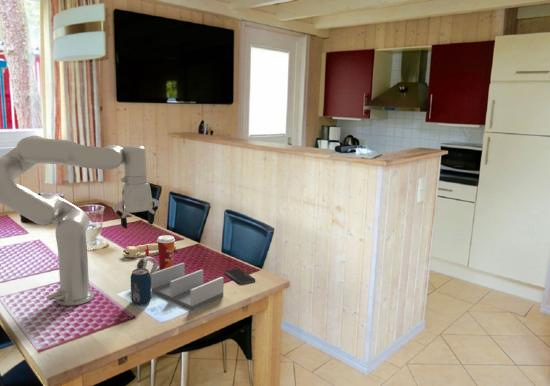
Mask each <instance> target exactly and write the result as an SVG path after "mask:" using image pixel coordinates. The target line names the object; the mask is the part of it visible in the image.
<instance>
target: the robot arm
mask: <svg viewBox="0 0 550 386" xmlns="http://www.w3.org/2000/svg"><path fill="white" fill-rule="evenodd" d="M37 164H47V165H48V164H50V165H62V166H71V167H77V168H84V169H85V168H86V169H94V170H95V169H96V170H114V169H117V168H119V167H120V166H121V165H123V168H124V170H123V171H124V176H123V177H121V178H120V182H121V183H123V185H122V191H121V200H120V201H119V202H116V203H115V204H113V205H112V209H113V211H114V212H115V214H116V215H118V216H119V217H120V226H121V227H122V228H123V229H124V230H126V229H128V221H127V220H128V219H127V217H126V216H127V215H128V214H129V213H130V214H132V213H139V212H140V213H141V212H146V211H147V223H148V224H150V225H151V226H152V225H153V224H154V222H155V215H154V214H155V213H156V212H157V210H158V209H159V206H160V204H161V201H160V200H158V199H156V198H154V197H153V196H152V190H151V189H152V188H151V186H150V183H149V182H148V181H147V180H148V179H147V152H146V148H145V147H144V146H142V145H126V146H125V145H117V144H109V145H107V146H105V147H104V146H103V147H102V146H91V145H85V144H80V143H77V142H75V141H73V140H70V139H69V140H68V139H55V138H45V137H42V136H39V135H29V136H26V137H24V138H22V139H20V140H19V141H18V142H17V144H16V147H14V148H12V149H11V150H9V152H7V153H6V154H4V155H2V156H0V204H2V205H3V206H5V207H8V208H9V209H11V210H13V211H14V212H16V213H17V214H19V215H20V216H22V217H24V218H26V219H28V220H30V221H32V222H33V223H35V224H37V225H39V226H49V225H51V224H52V223H53V224H55V225H56V227H55V239H56V240H55V241H56V246H57V255H58V256H57V257H58V270H59V271H58V273H59V288H57V291H55V293H51V294H48V295H46V299H47V301H48V302H50V301H54V302H56V303H57V304H58V305H62V306H67V307H68V306H69V307H70V306H71V307H72V306H79V305H83V304H87V303H88V302H90V301H92V300H93V299H94V298H95V297H94V296H95V293H94V292H95V291H93V290H91V289H90V282H89V281H90V279H89V259H88V245H87V231H88V227H89V225H90V217H89V216H88V214H87V213H86V212H85V211H84V210H82V209H81V208H80V207H77V206H76V205H74V204H73V203H71V202H69V201H68V200H66V199H64V198H63V197H60V196H59V195H56V194H53V193H43V194H38V193H36V192H34V191H32V190H31V189H29V188H28V187H26V186H24V185H21V184H19V183H17V182H16V181H15V179H17V178H18V177H21V176H22V175H23V174H24V173H26V172H27V171H29V169H31V168H33V167H34V166H35V165H37ZM153 204H154V205H153ZM120 207H121V208H122V210H121V211H120V210H119V208H120Z"/></svg>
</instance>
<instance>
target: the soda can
mask: <svg viewBox="0 0 550 386" xmlns="http://www.w3.org/2000/svg"><path fill="white" fill-rule="evenodd" d="M149 271H150V270H149V269H147V268H145V269H144V268H140V269H137V268H136V269H134V270H132V273H131V275H130V300H131V302H132V304H133V305H134V306H145V305H147V304H149V303H150V301H151V299H152V292H151V275H150V272H149Z"/></svg>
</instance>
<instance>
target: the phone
mask: <svg viewBox="0 0 550 386" xmlns="http://www.w3.org/2000/svg"><path fill="white" fill-rule="evenodd" d="M224 275H226V276H228V277H229V279H231V281H232V280H233V281H234V282H235V283H236V284H238V285H239V286H242V285H243V286H244V285H248V284H252V283H256V278H254V277H253V276H251V275H250V274H248V273H247V272H246V271H244V270H243V269H241V268H233V269H228V270H227V269H226V270H224Z"/></svg>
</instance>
